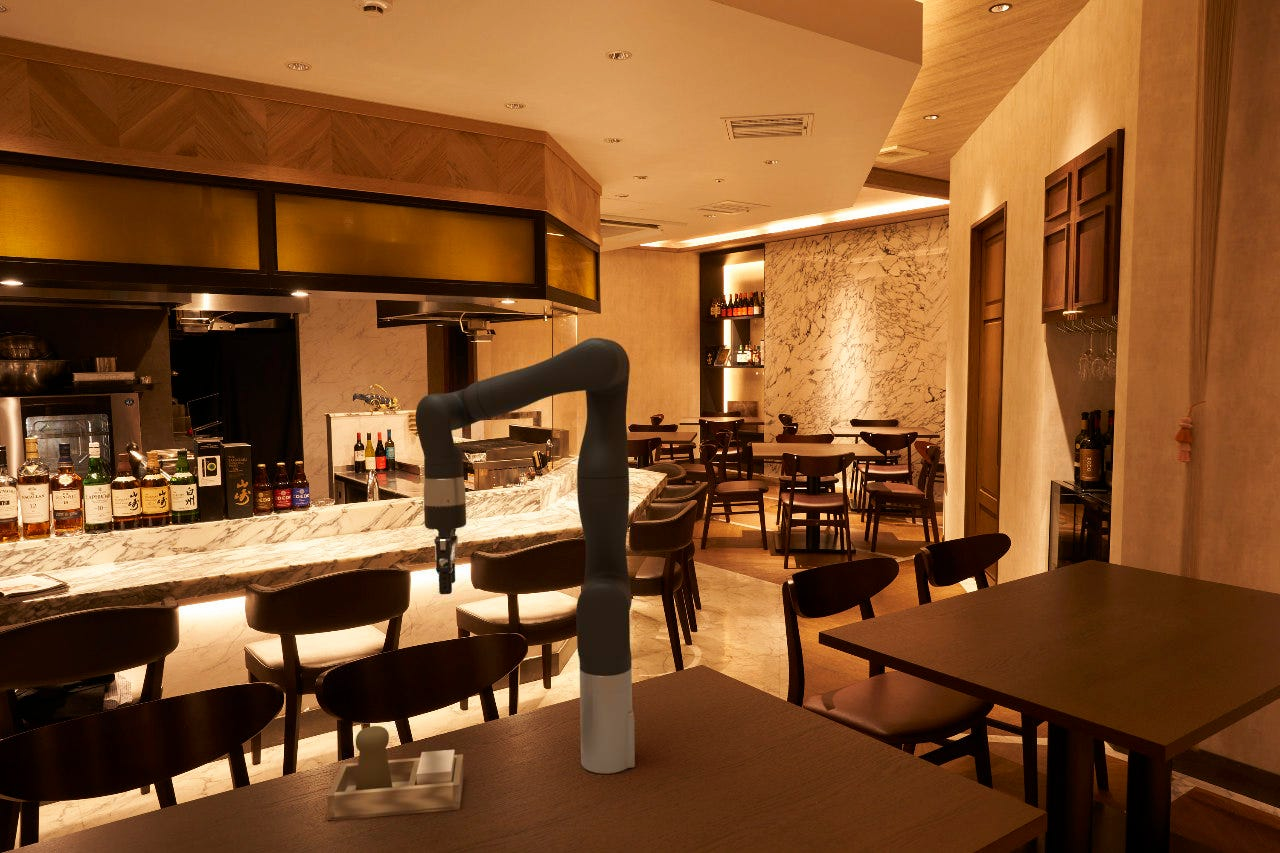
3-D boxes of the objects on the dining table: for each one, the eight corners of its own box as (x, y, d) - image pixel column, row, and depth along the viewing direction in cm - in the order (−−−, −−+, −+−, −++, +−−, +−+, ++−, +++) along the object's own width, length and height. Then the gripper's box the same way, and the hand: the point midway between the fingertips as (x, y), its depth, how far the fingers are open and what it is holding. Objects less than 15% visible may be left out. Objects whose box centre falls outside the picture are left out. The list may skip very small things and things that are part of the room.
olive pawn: (381, 806, 131) (379, 738, 130) (347, 802, 132) (345, 735, 131) (400, 787, 136) (398, 723, 136) (367, 784, 138) (365, 720, 137)
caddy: (463, 777, 141) (462, 745, 141) (459, 809, 130) (458, 774, 130) (342, 787, 138) (341, 754, 138) (328, 821, 127) (327, 785, 127)
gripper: (463, 506, 145) (466, 596, 146) (467, 495, 159) (470, 578, 160) (419, 507, 144) (422, 599, 145) (428, 497, 158) (430, 580, 159)
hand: (447, 588), depth 152 cm, fingers open, 8 cm apart
